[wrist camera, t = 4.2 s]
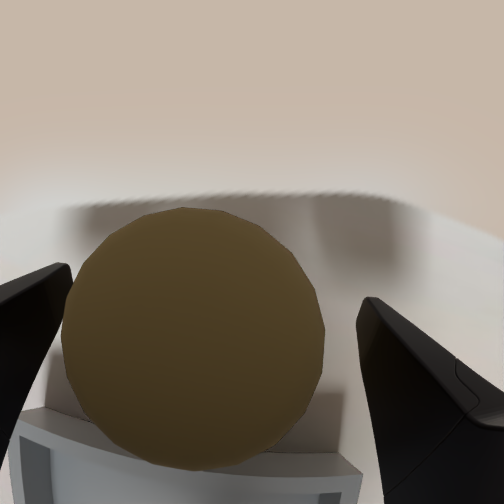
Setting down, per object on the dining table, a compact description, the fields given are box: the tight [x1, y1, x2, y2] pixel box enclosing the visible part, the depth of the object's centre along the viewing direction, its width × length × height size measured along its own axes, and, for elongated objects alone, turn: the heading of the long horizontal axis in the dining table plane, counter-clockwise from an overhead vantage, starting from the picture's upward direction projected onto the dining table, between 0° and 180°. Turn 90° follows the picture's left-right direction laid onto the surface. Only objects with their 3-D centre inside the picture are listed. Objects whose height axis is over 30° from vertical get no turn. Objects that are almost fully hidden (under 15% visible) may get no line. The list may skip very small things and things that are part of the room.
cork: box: [61, 207, 325, 472], centre depth 10 cm, size 6×6×11 cm
